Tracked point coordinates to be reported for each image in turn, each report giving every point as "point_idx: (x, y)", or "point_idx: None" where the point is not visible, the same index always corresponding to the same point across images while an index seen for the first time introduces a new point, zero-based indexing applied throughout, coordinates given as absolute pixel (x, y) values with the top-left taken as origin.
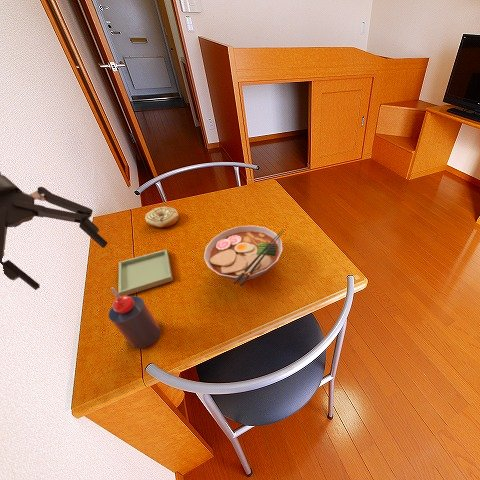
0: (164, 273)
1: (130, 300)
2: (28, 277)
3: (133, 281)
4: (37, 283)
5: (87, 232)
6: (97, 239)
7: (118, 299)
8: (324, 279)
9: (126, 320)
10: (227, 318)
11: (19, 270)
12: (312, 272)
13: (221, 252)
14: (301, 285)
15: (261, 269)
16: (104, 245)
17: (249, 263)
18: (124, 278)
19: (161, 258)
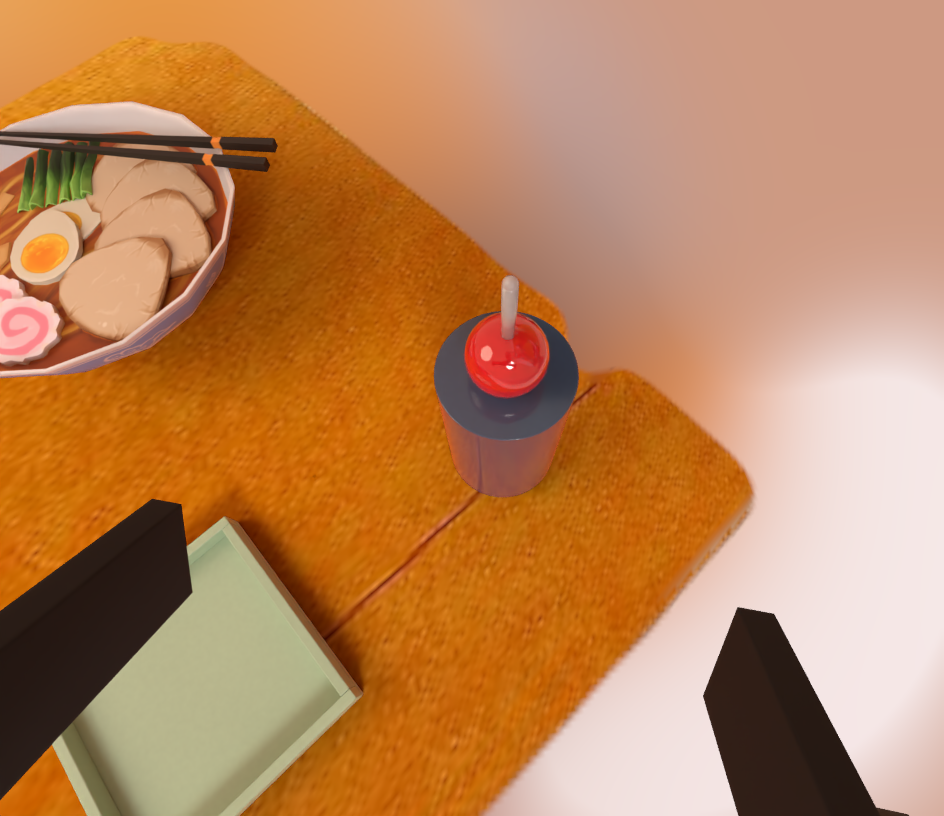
0: (200, 580)
1: (488, 316)
2: (787, 695)
3: (267, 701)
4: (747, 618)
5: (25, 722)
6: (128, 574)
7: (515, 328)
8: (184, 77)
9: (555, 331)
10: (375, 248)
11: (843, 807)
12: None
13: (79, 316)
14: (215, 119)
15: (177, 151)
16: (180, 536)
17: (148, 190)
18: (253, 772)
19: None
